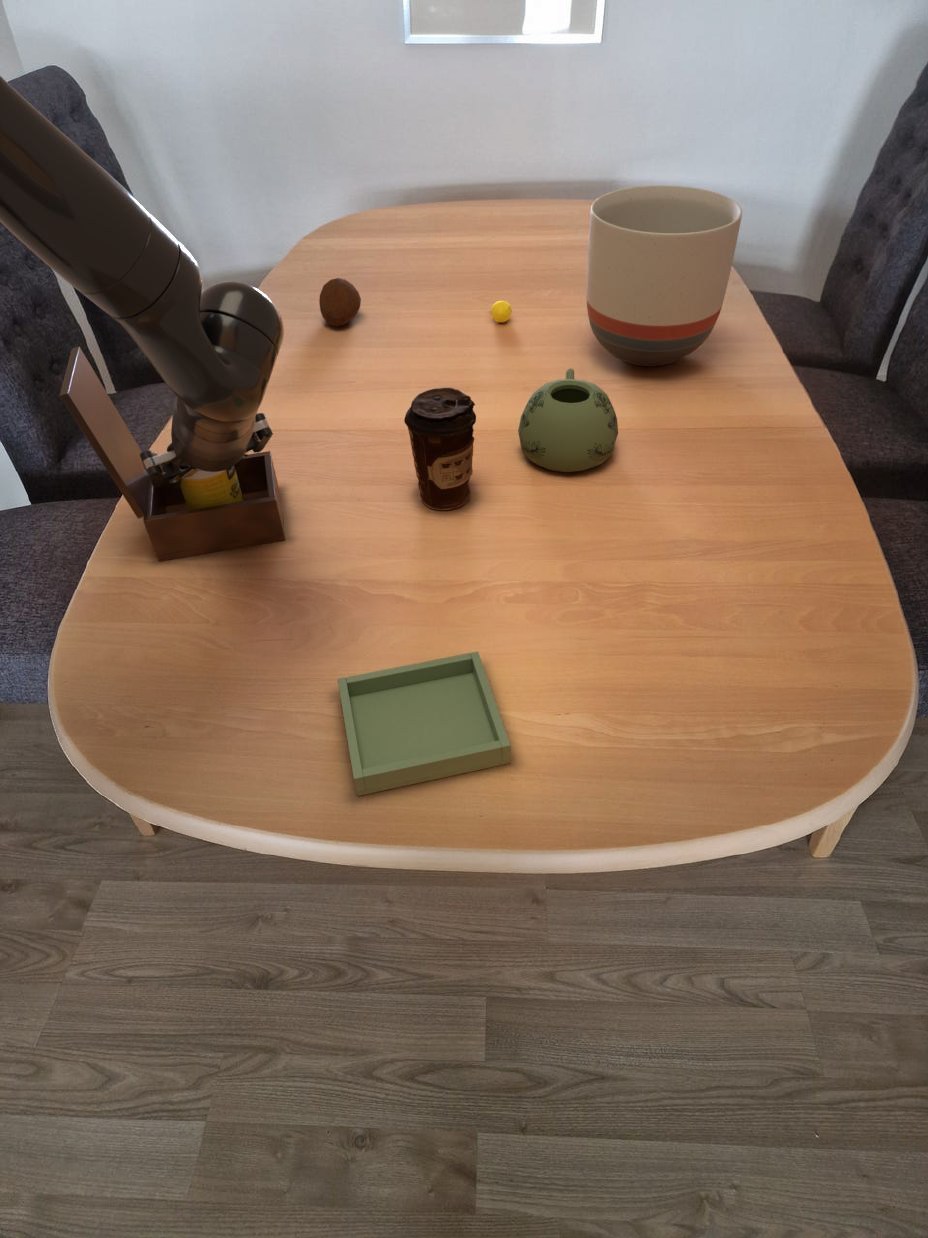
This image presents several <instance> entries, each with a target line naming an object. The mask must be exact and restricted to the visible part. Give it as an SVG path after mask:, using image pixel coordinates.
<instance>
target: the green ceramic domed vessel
mask: <svg viewBox="0 0 928 1238" xmlns="http://www.w3.org/2000/svg"><path fill="white" fill-rule="evenodd" d="M519 420H520V421H519V425H518V428H517V432H518V437H519V442H520V443H519V444H520V448H521V451H522V454H523V455H524V456H525V457H526V458H527V459H528V460H530V461H531V462H532V463H533V464H536V465H537V466H539V467H542V468H544V469H547V470H549V471H554V472H561V473H575V472H584V471H586V470H589V469H592V468H594V467H597V466H599V465H602V464H603V463H604V462H606V461H607V460H608V459H609V458H610V457H611V456H612V454H613V451H614V448H615V445H616V442H617V438H618V437H619V427H618V426H619V425H618V418H617V414H616V411H615V408H614V406H613V404H612V402H611V400H610V397H609V395H608V393H606V392H605V391H604V390H603V389H602V388H600V387H599V386H597V384H595V383H592V382H590V381H587V380H583V379H575V369H573V368H572V367H570V368H567V369H566V371H565V379H564V378H563V379H556V380H552V381H549V382H546V383H545V384H543V385H541V386H540V387H539V388H538V389H536V390H535V391H533V392H532V394H531V396H530V397H529V399H528V401H527V403H526V405H525V407H524V409H523V411H522V414H521V416H520V419H519Z"/></svg>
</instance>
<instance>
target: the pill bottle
mask: <svg viewBox="0 0 928 1238" xmlns="http://www.w3.org/2000/svg"><path fill="white" fill-rule="evenodd" d="M180 486H181V489H182V492H183V495H184V498H185V501H186V504H187V507H188V510H192V509H199V508H205V507H211V506H217V505H223V504H230V503H236V502H242V501H244V500H243V496H242V493H241V489H240V485H239V482H238V478H237V474H236V470H235V467H234V466H233V467H231V468H229V469H227V470H223V471H219V472H207V471H202V470H199V471H198V472H196V473H195V474H194V475H192V476H191V477H186V478H181V485H180Z"/></svg>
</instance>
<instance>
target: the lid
mask: <svg viewBox="0 0 928 1238" xmlns="http://www.w3.org/2000/svg"><path fill="white" fill-rule="evenodd" d="M59 398H60V399H61V401H62V402H63V404H64V405H65V408H66V409H67V410H68V412H69V413H70V415H71V417H72V418H73V419H74V421H75V422H76V424H77V426H78V427H79V429H80V431H81V432H82V433H83V436H84V437H85V438H86V440H87V442H88V444H89V445H90V446H91V448H92V449H93V450H94V452H95V454H96V455H97V457H98V459H99V460H100V462H101V463H102V465H103V467H104V468H105V469H106V471H107V473H108V474H109V476H110V477H111V479H112V480H113V483H114V484H115V485H116V487H117V488H118V490H119V491H120V493H121V495H122V497H123V498H124V500H125V501H126V502H127V504H128V505H129V507H130V509H131V510H132V512H133V513H134V515H135V516H136V518H137V519H143V518H144V517H145V511H146V499H147V487H148V473H147V471H146V470H145V468H144V465H143V463H142V460H141V457H140V454H141V453H142V452H143V451H142V450H141V448H140V446H139V445H138V443H137V442H136V439H135V438H134V436H133V435H132V432H131V431H130V429H129V428H128V425H126V423H125V422H124V421H125V420H124V419H123V418H122V416H121V414H120V412H119V411H118V409H117V407H116V406H115V404H114V402H113V401H112V399H111V397H110V396H109V394H108V393H107V390H106V389H105V387H104V386H103V384H102V382H101V381H100V379H99V377H98V375H97V373H96V372H95V371H94V369H93V367H92V365H91V363H90V362H89V360H88V358H87V357H86V355H85V353H84V352H83V350H82V348H81V347H80V346H76V347H73V348H71V351H70V355H69V358H68V362H67V365H66V369H65V374H64V378H63V381H62V385H61V390H60V393H59Z"/></svg>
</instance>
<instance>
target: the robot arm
mask: <svg viewBox="0 0 928 1238" xmlns="http://www.w3.org/2000/svg"><path fill="white" fill-rule="evenodd" d="M0 223H1V224H2V225H3V226H5V228H6V229H7V230H8V231H9V232H10V233H11V234H13V235H14V236H15V237H16V239H18V240H19V241H20V242H21V243H22V244H23V245H24V246H26V247H27V249H29V250H30V252H32V253H33V254H34V255H35V256H37V257H38V258H39V259H40V260H41V261H42V262H43V263H45V265H47V266H48V267H49V268H50V269H52V271H54V272H55V273H56V274H57V275H59V277H61V278H62V279H63V280H65V281H66V282H67V283H68V284H70V286H71V287H73V289H75V290H77V291H78V292H79V293H80V294H82V295H83V296H84V297H85V298H87V299H88V300H89V301H90V302H92V303H93V304H94V305H96V306H97V307H98V308H99V309H100V310H102V311H103V312H104V313H106V314H107V315H108V316H109V317H110V318H112V319H113V320H115V321H116V322H117V323H119V324H120V326H122V327H123V328H124V330H125V331H126V332H127V334H129V336H130V337H131V339H132V340H133V342H134V343H135V344H136V345H137V347H138V348H139V350H140V351H141V352H142V354H144V356H145V357H146V358H147V360H148V361H149V363H150V364H151V365H152V367H153V368H154V369H155V371H156V372H157V374H158V375H159V376H160V378H161V379H162V380H163V382H164V383H165V385H166V386H167V387H168V388H169V390H171V392H172V393H173V394H174V395H175V396H176V397H175V399H174V402H173V409H172V417H171V418H172V419H171V428H170V429H171V431H170V435H171V437H170V438H171V443H170V444H168V445H167V447H166V451H165V452H162V453H160V454H158V452H157V451H153V452H152V450H150V449H148V450H144V451H141V452H142V453H141V454H140V457H141V460H142V463H143V465H144V468H145V470H146V471H147V473H148V475H149V477H150V480H151V482H152V485H153V487H161V486H162V485H163V484H164V481H165V483H166V485H167V487H170V486H173V488H174V489H176V488H179V487H180V485H181V478H186V477H191V476H192V475H194V474H195V473H196V472H198V471H199V470H202V471H207V472H219V471H223V470H227V469H229V468H231V467H233V466H234V467H238V466H239V463H240V462H241V461H242V460H243V459H245V458H246V457H247V456H248V453H249V452H250V451H252V452H253V454H254V453H261V452H262V451H263V450H264V449H265V447H266V446H267V445H268V443H269V441H270V439H271V438H272V437H273V435H274V432H273V430H272V429H271V426H270V424H269V422H268V420H267V417H266V415H265V413H264V412H258V411H259V408H260V406H261V405H262V403H263V401H264V397H265V394H266V392H267V389H268V385H269V383H270V379H271V376H272V375H273V374H272V373H273V371H274V368H275V366H276V362H277V360H278V356H279V353H280V350H281V348H282V343H283V340H284V335H285V331H284V330H285V329H284V322H283V318H282V316H281V314H280V311H279V309H278V307H277V306H276V304H275V303H274V302H273V301H272V300H271V298H270V297H268V295H267V294H265V293H264V292H262V291H261V290H260V289H259V288H257V287H255V286H253V285H250V284H249V283H244V282H241V281H234V280H231V281H230V280H229V281H222V282H221V281H220V282H218V283H215V284H212V285H211V286H209V287H207V288H206V289H205V290H204V291H203V276H202V272H201V268H200V265H199V262H197V260H196V259H195V257H194V256H193V255H192V253H191V252H190V251H189V249H187V248H186V247H185V246H184V245H183V244H182V243H181V241H180V240H178V239H177V237H175V236H174V234H172V232H170V231H169V229H167V228H166V227H165V225H163V224H162V223H161V221H159V220H158V218H156V217H155V215H153V214H152V213H151V212H150V211H149V209H147V208H146V207H145V206H144V205H143V204H142V203H141V202H140V201H139V200H138V199H136V197H134V195H133V194H132V193H131V192H130V191H128V190H127V189H126V188H125V187H124V186H123V185H122V184H121V183H119V181H118V180H117V179H115V178H114V177H113V175H111V174H110V173H109V172H108V171H106V169H105V168H103V167H102V166H101V165H100V164H99V163H98V162H97V161H96V160H94V159H93V158H92V157H91V156H89V154H87V152H85V150H83V149H82V148H80V146H79V145H77V144H76V143H75V142H74V141H73V140H72V139H70V138H69V137H68V136H67V135H66V134H64V132H63V131H61V130H60V129H59V128H58V127H57V126H56V125H55V124H53V123H52V122H51V121H50V120H49V119H48V118H47V117H45V116H44V114H42V113H41V112H40V111H39V110H38V109H37V108H35V106H33V105H32V104H31V103H30V102H29V101H28V100H27V99H25V98H24V97H23V96H22V95H21V93H19V92H18V91H17V90H16V89H15V88H14V87H12V85H11V84H9V82H7V80H6V79H4V78H3V76H1V75H0Z"/></svg>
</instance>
